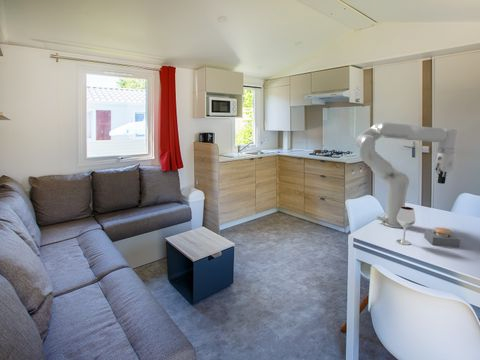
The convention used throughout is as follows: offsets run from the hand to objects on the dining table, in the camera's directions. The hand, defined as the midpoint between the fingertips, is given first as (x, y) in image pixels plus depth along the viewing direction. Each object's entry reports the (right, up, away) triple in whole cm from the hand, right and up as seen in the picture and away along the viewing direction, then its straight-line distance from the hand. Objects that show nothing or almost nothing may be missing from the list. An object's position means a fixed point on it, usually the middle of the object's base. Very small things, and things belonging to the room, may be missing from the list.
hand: (441, 183), depth 168 cm
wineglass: (-32, -30, -18) cm, 47 cm away
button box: (-12, -30, -18) cm, 37 cm away
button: (-12, -28, -18) cm, 36 cm away
